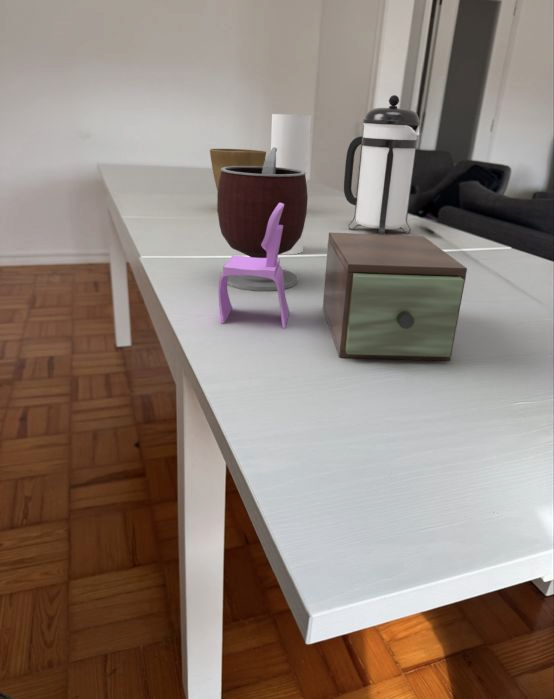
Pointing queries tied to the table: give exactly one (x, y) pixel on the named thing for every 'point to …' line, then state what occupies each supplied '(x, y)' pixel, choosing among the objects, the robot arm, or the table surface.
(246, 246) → the mate gourd
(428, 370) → the table surface
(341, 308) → the cabinet
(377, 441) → the table surface
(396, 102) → the coffee press
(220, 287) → the toy chair
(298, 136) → the cylindrical container
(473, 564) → the table surface
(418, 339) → the drawer
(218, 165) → the plant pot
